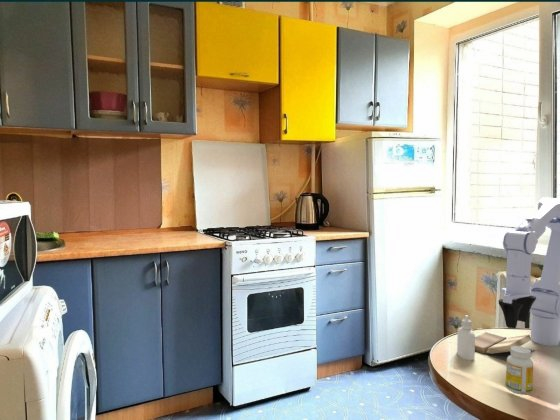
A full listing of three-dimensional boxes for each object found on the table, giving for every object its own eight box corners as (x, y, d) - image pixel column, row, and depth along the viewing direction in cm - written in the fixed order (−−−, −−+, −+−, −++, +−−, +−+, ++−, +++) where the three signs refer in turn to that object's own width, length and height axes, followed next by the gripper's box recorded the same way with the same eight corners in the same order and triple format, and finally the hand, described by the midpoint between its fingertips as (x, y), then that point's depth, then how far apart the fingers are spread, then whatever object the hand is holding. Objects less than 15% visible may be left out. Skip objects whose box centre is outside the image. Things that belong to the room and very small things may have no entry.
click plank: (508, 343, 123) (506, 338, 124) (531, 339, 118) (529, 334, 119) (487, 354, 115) (485, 348, 116) (511, 351, 110) (508, 345, 111)
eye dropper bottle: (474, 356, 116) (475, 313, 115) (474, 364, 111) (475, 319, 110) (457, 353, 118) (458, 311, 117) (456, 361, 113) (457, 317, 112)
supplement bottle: (510, 394, 95) (511, 352, 95) (502, 383, 100) (503, 344, 100) (536, 396, 94) (538, 354, 94) (526, 385, 99) (528, 345, 99)
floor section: (484, 338, 129) (484, 331, 129) (535, 353, 118) (536, 345, 118) (461, 349, 121) (461, 341, 121) (513, 366, 110) (514, 357, 109)
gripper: (513, 269, 122) (511, 315, 123) (491, 276, 112) (490, 326, 113) (540, 273, 116) (538, 321, 117) (520, 281, 107) (518, 333, 108)
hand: (516, 324), depth 115 cm, fingers open, 7 cm apart
